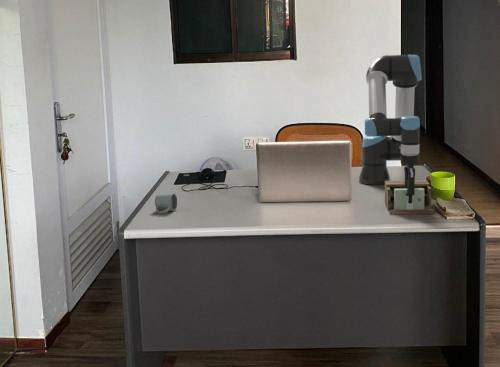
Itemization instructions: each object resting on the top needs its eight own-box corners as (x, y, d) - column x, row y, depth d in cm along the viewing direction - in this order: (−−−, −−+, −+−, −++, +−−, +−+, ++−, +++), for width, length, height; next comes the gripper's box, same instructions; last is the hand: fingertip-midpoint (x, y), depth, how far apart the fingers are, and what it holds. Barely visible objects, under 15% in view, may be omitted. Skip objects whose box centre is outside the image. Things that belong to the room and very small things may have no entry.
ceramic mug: (160, 207, 343) (159, 191, 341) (178, 208, 341) (177, 191, 339) (151, 214, 333) (150, 197, 331) (169, 214, 331) (168, 197, 329)
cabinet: (384, 203, 337) (384, 180, 334) (426, 202, 335) (426, 180, 333) (389, 214, 319) (389, 190, 316) (433, 213, 317) (434, 189, 315)
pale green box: (393, 209, 323) (394, 188, 321) (422, 209, 323) (423, 188, 321) (395, 211, 320) (395, 190, 318) (424, 211, 319) (424, 190, 317)
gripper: (398, 150, 324) (397, 204, 330) (403, 157, 309) (402, 214, 314) (416, 150, 324) (415, 204, 329) (422, 157, 308) (421, 214, 313)
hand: (409, 209), depth 321 cm, fingers closed on pale green box, 3 cm apart
